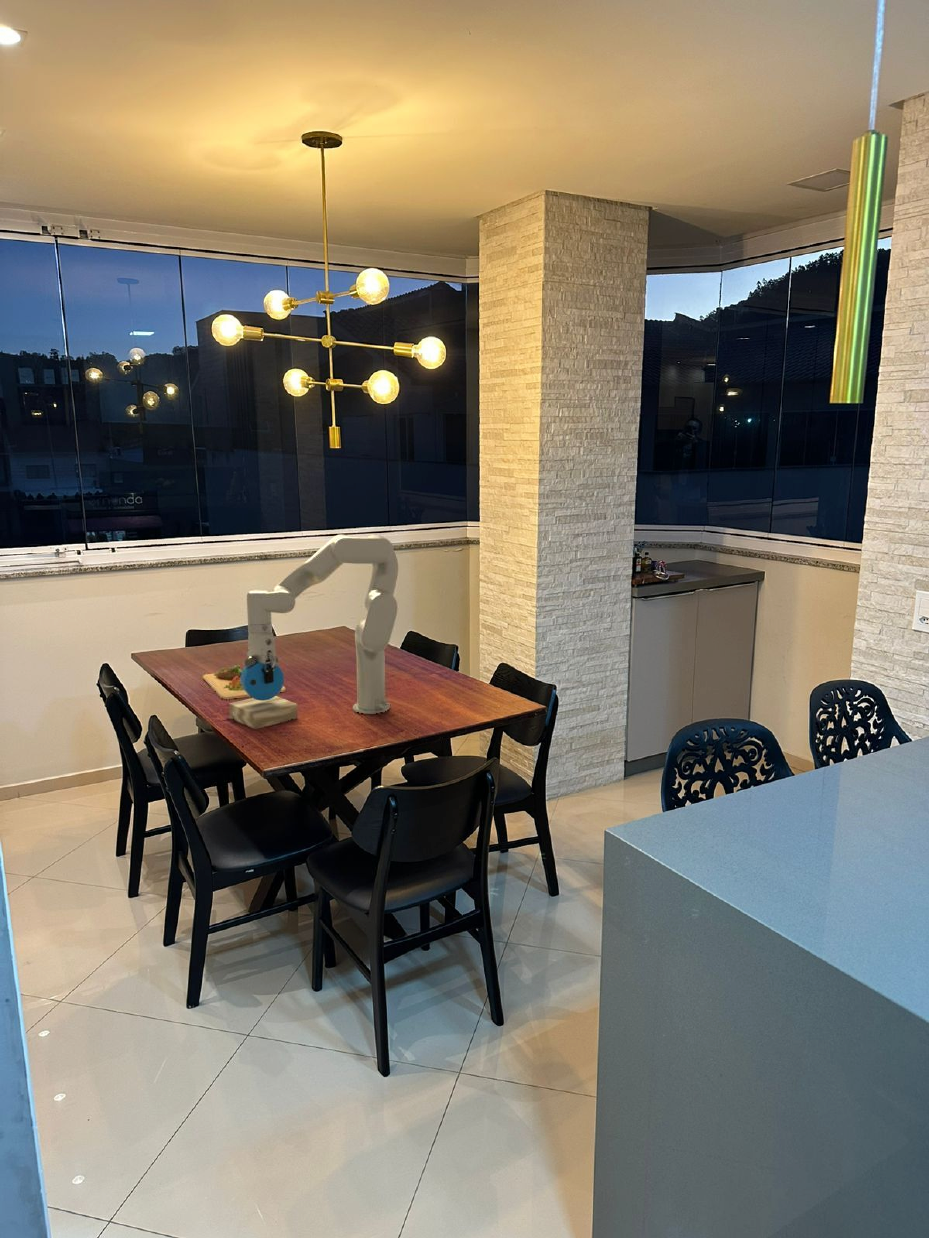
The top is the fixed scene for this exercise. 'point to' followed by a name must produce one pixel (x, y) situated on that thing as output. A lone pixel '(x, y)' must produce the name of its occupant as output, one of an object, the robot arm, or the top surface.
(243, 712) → the wooden box
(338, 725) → the top surface
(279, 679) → the alarm clock
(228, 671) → the cutting board
